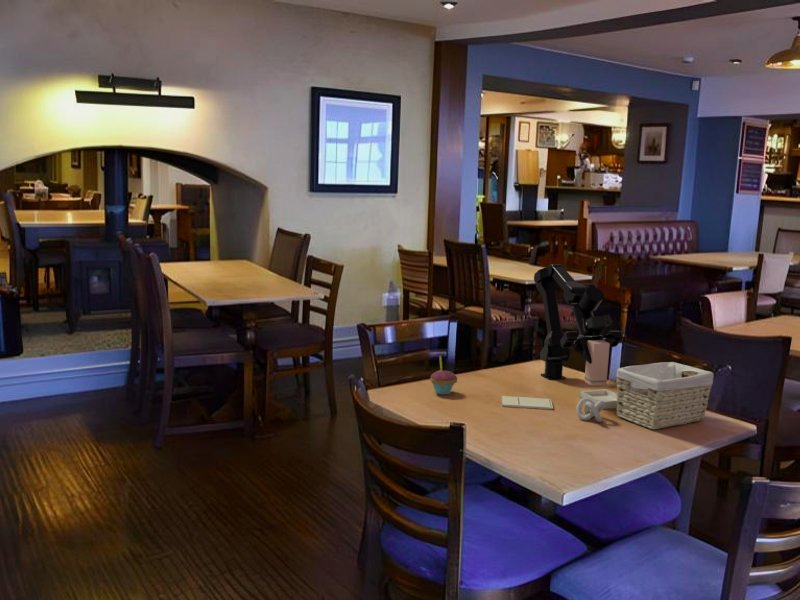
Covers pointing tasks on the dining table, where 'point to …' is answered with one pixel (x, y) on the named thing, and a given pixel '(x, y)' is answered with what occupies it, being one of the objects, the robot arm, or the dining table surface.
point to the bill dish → (601, 397)
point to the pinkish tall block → (597, 362)
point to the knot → (589, 406)
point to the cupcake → (443, 380)
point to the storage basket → (662, 394)
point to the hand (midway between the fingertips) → (599, 362)
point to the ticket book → (526, 402)
